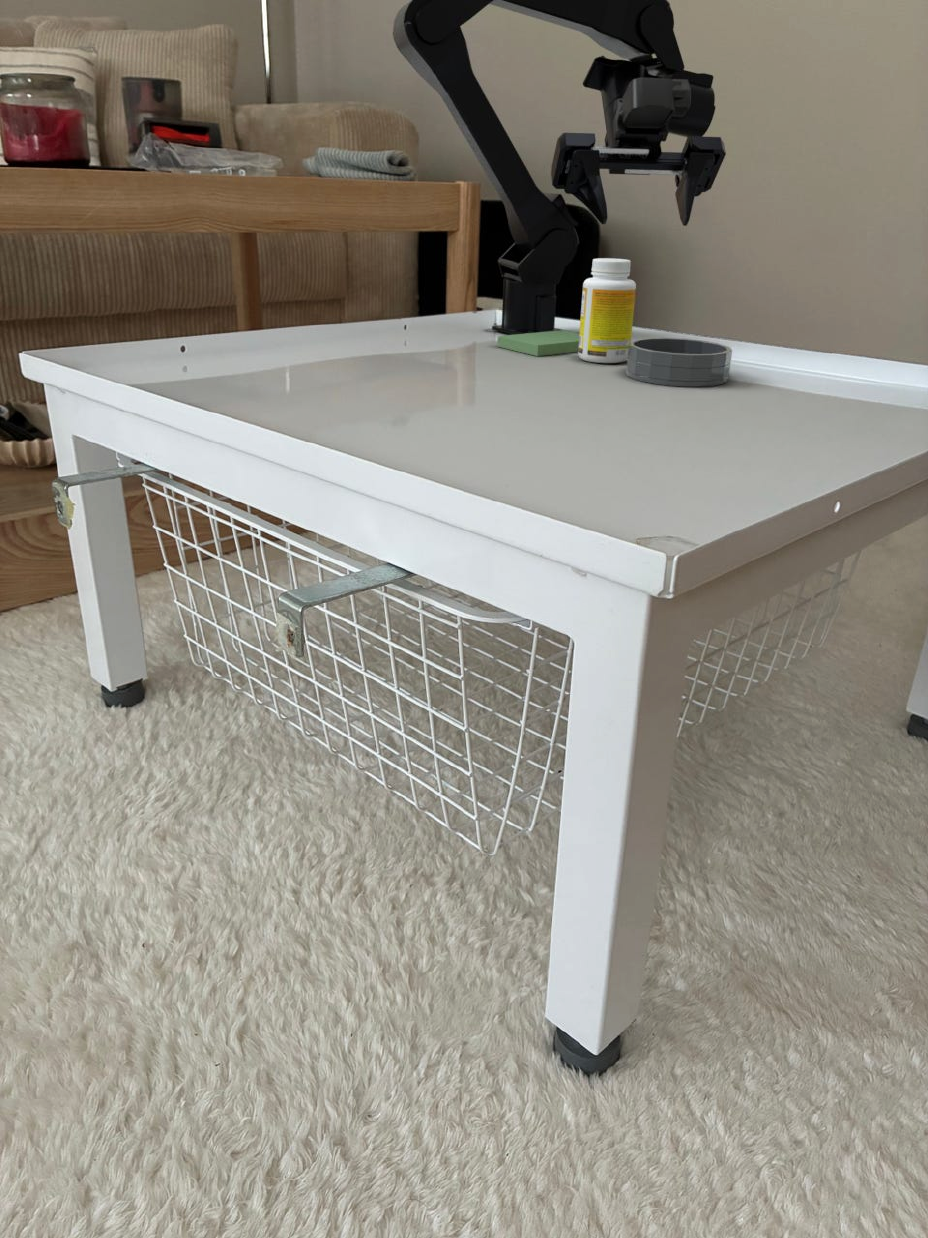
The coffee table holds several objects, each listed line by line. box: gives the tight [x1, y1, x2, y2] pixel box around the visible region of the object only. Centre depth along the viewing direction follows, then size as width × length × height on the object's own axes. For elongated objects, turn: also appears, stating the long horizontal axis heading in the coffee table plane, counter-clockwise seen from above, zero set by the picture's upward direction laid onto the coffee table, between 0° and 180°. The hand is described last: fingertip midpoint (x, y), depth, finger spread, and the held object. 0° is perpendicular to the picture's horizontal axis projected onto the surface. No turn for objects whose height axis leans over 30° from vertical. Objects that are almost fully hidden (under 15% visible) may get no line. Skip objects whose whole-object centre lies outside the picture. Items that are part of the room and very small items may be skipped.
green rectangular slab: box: [497, 329, 580, 357], centre depth 109 cm, size 7×10×1 cm
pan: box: [625, 337, 733, 388], centre depth 95 cm, size 10×10×3 cm
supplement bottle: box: [577, 257, 637, 364], centre depth 101 cm, size 6×6×10 cm
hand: (645, 221), depth 104 cm, fingers open, 9 cm apart
